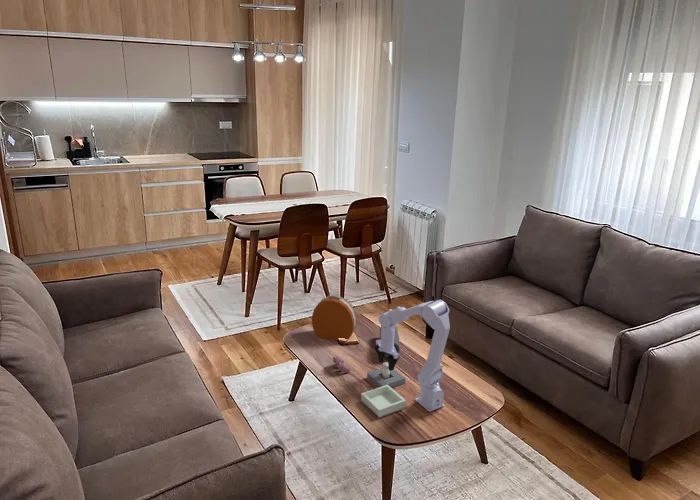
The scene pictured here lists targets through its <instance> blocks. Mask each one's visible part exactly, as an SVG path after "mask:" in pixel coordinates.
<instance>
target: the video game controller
mask: <svg viewBox="0 0 700 500" xmlns="http://www.w3.org/2000/svg"><path fill="white" fill-rule="evenodd" d="M332 363H333V364H336V366H337V368H338V371H340V372H343V373H344V374H349V373H350V372H351V369H350V368H348V367H347V366H345V364H344V363H345V360H344V359H342V358H340V357H339V356H338V355H336V356H333V357H332Z"/></svg>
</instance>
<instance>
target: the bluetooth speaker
mask: <svg viewBox="0 0 700 500" xmlns="http://www.w3.org/2000/svg"><path fill="white" fill-rule="evenodd" d="M379 340H381V327H380V329H379ZM400 347H401V346H400V336H399V332H398V327H397V326H395V332H394V348H395V349H396V351H397V353H398V354H399V353H400V350H401V348H400ZM399 355H400V354H399ZM388 356H391V354H388V353H386V352H385V357H388Z"/></svg>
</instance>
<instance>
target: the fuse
mask: <svg viewBox="0 0 700 500" xmlns="http://www.w3.org/2000/svg"><path fill="white" fill-rule="evenodd" d="M381 368H383V373H382V378H383V379H384V380H385V379H388V378H390V371H389V366H388V361H384V362H382V364H381Z"/></svg>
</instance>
